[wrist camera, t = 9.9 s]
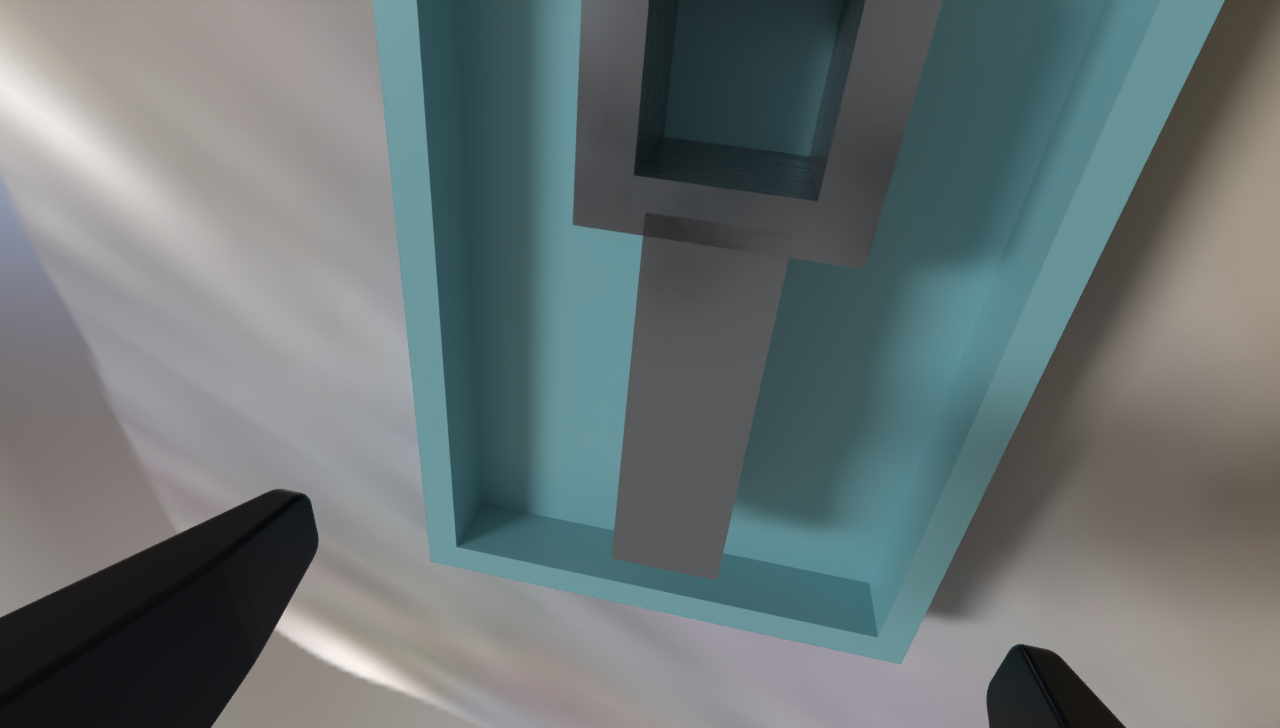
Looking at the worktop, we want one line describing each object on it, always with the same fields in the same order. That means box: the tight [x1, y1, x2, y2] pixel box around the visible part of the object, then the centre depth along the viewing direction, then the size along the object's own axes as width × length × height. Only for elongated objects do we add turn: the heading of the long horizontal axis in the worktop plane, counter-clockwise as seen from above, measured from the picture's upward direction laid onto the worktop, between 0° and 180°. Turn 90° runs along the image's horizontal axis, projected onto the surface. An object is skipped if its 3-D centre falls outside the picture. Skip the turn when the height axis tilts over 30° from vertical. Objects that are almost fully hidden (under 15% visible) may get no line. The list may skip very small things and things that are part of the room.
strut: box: [573, 0, 943, 580], centre depth 16 cm, size 16×6×4 cm, turn 175°
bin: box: [373, 0, 1225, 664], centre depth 17 cm, size 16×23×3 cm
